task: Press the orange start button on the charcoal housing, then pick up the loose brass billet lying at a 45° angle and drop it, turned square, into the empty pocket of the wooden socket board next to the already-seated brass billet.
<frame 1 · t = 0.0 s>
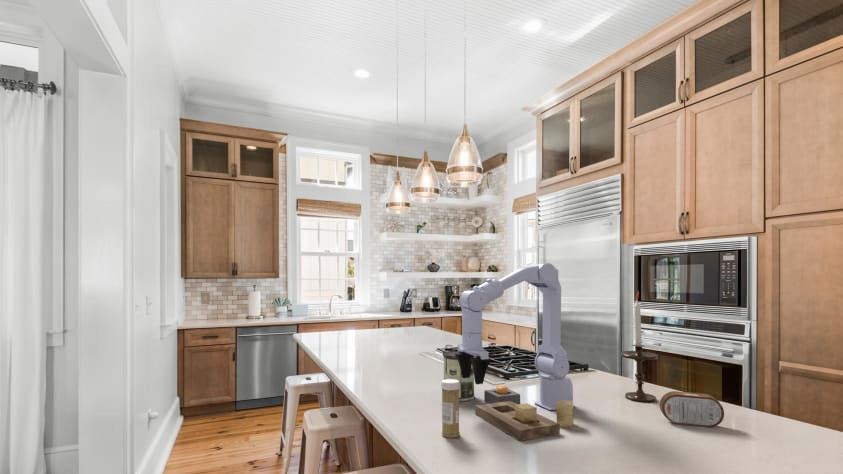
hand: (472, 380, 126), 10 cm above the countertop, fingers open, 7 cm apart
wooden socket board: (514, 423, 120), on the countertop
button housing: (502, 403, 139), on the countertop
tin: (692, 425, 120), on the countertop
sprinkles bottle: (450, 435, 112), on the countertop
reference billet: (525, 429, 116), resting in wooden socket board
coffee can: (458, 397, 146), on the countertop
loose billet: (565, 425, 119), on the countertop
start button: (501, 391, 139), point 4 cm above the countertop, slide at 0.0 cm
candlestick: (640, 399, 145), on the countertop
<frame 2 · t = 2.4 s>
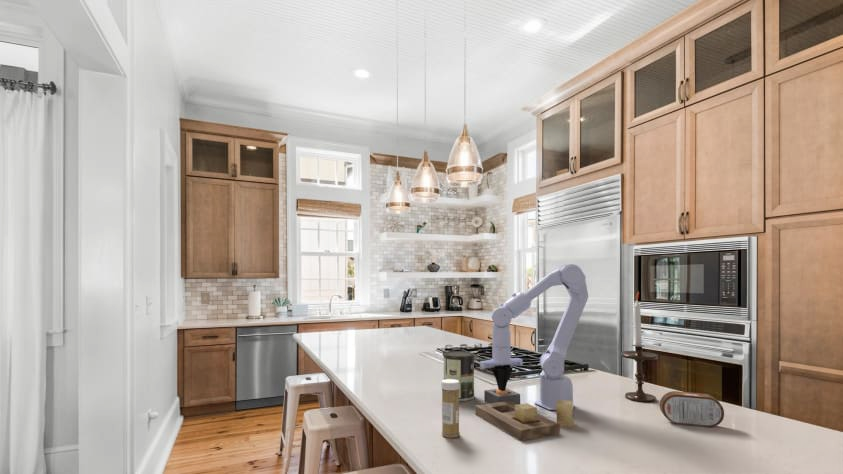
hand: (501, 390, 139), 4 cm above the countertop, fingers closed, pressing on start button
start button: (502, 393, 139), point 3 cm above the countertop, slide at 0.8 cm, touching gripper
everything else where it was.
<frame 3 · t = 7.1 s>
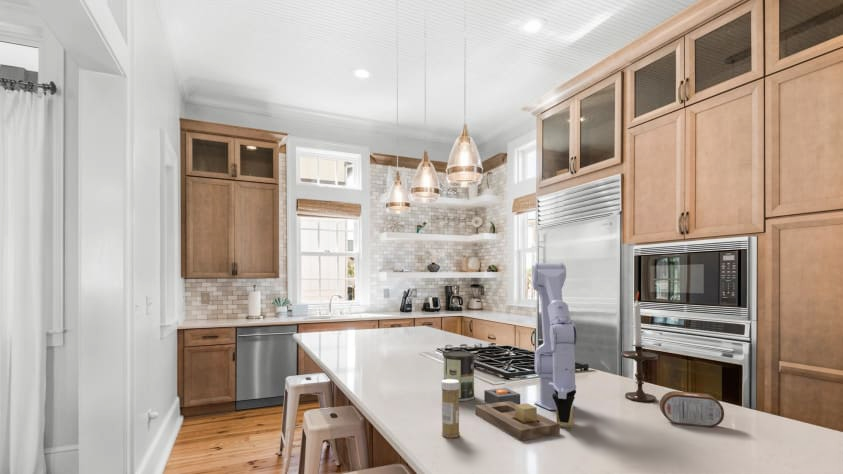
hand: (565, 419, 120), 1 cm above the countertop, fingers closed on loose billet, 4 cm apart
loose billet: (565, 424, 119), on the countertop, touching gripper
start button: (502, 394, 139), point 3 cm above the countertop, slide at 1.1 cm
everything else where it was.
when the fingers open (4 cm above the countertop, at t = 10.9 s): loose billet drops 2 cm, resting in wooden socket board.
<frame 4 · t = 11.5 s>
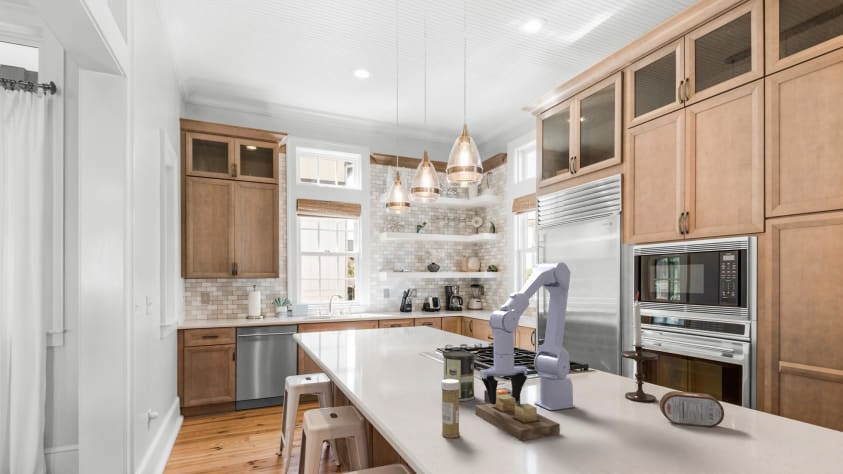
hand: (504, 401, 125), 4 cm above the countertop, fingers open, 7 cm apart
loose billet: (505, 418, 124), resting in wooden socket board
everything else where it was.
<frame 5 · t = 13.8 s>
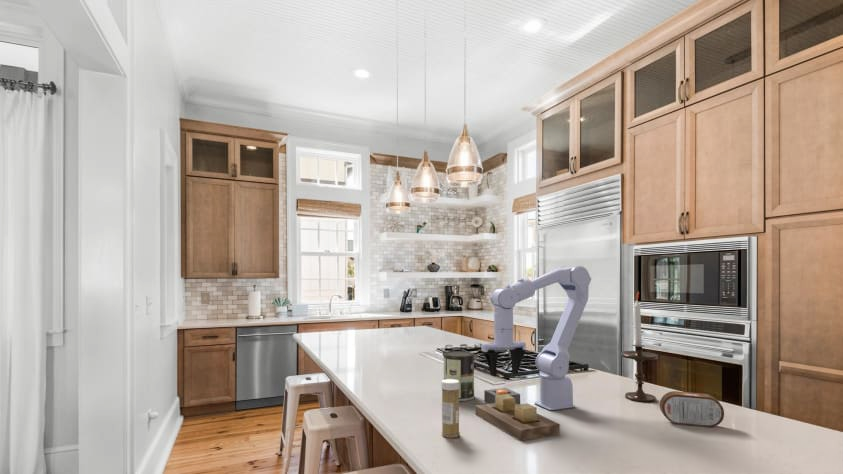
hand: (504, 374, 133), 10 cm above the countertop, fingers open, 7 cm apart
nothing on the countertop moved.
at the end: loose billet 0.5 cm from the target spot on the wooden socket board, point 0.0 cm above the wooden socket board's base; loose billet tilted 0°; start button slide at 1.1 cm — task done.
